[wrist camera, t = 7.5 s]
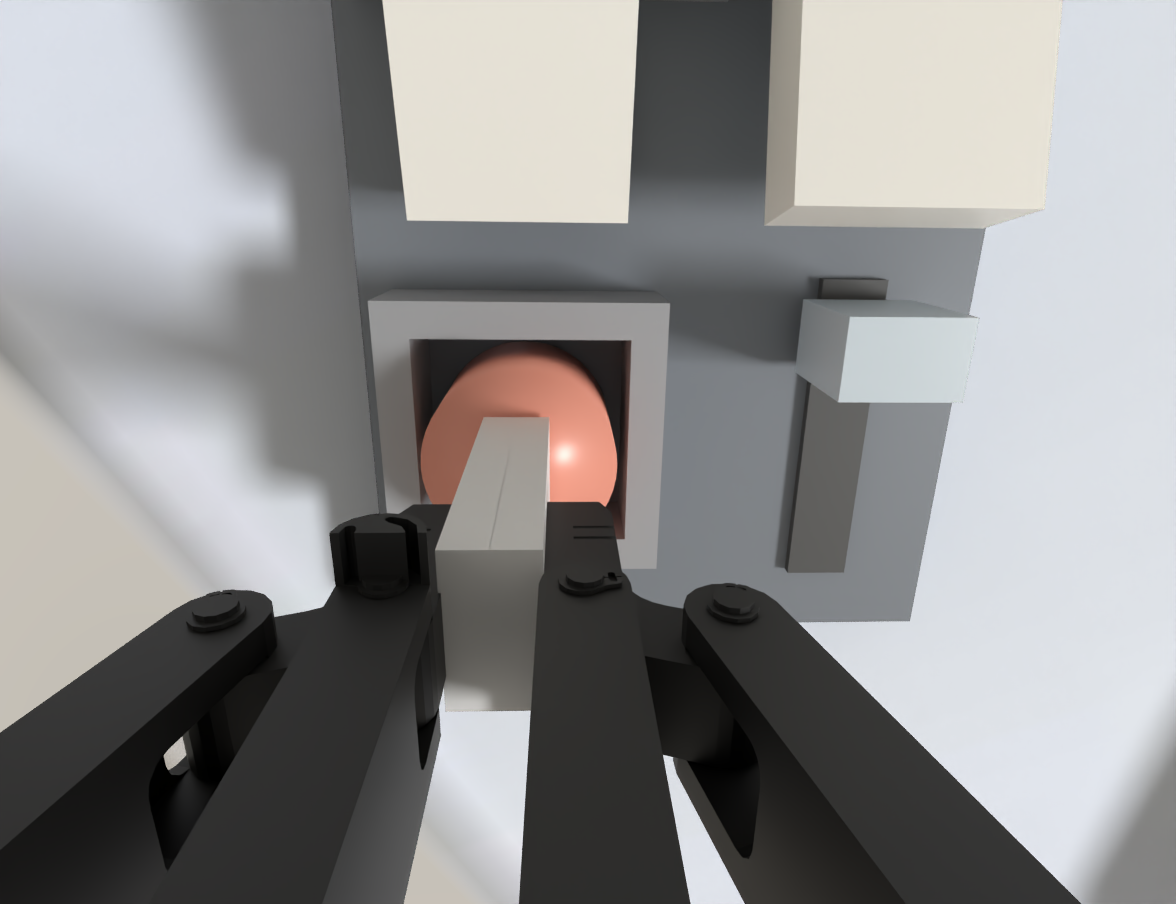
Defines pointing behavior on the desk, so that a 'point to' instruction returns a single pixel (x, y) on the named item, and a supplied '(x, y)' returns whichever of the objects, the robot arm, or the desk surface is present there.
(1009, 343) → the desk surface
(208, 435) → the desk surface
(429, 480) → the button
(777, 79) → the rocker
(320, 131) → the desk surface
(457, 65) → the block
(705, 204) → the panel
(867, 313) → the block
